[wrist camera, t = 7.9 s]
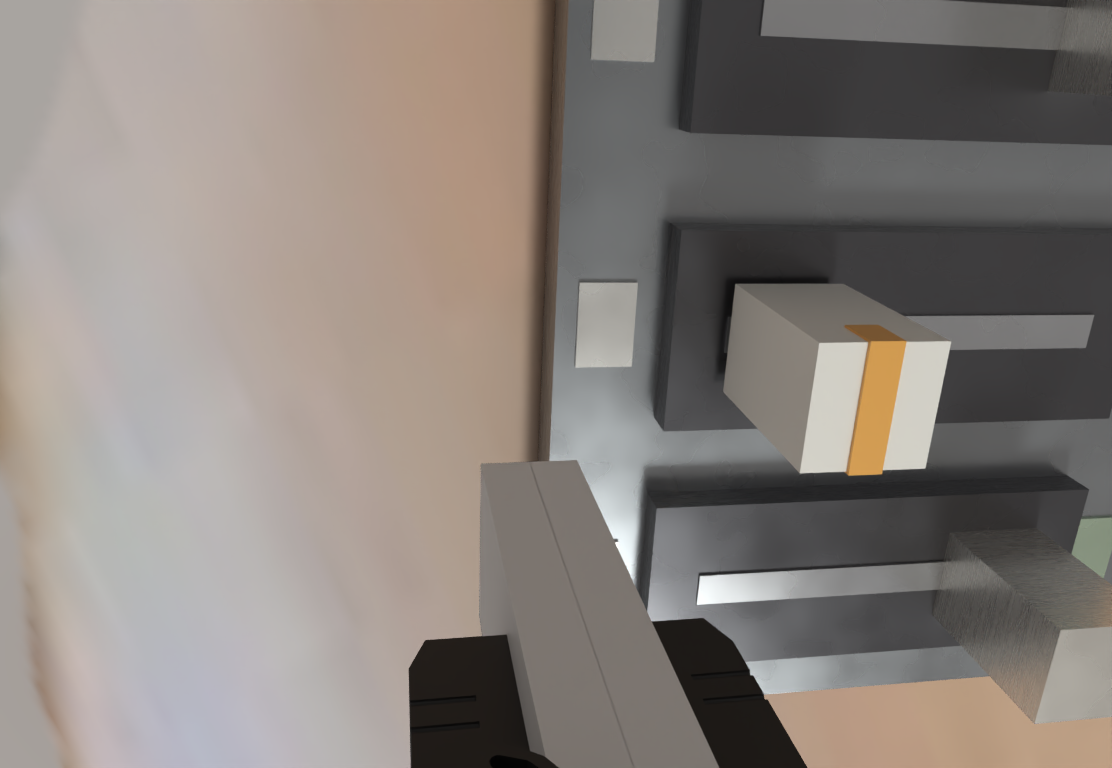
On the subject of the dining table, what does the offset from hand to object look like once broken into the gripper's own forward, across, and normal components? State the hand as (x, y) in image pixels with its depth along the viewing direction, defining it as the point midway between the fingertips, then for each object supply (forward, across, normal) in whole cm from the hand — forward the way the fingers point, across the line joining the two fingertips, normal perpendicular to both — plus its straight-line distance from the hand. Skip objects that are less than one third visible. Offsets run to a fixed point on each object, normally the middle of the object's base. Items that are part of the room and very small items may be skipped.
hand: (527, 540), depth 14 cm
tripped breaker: (+9, +8, 0) cm, 12 cm away
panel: (+13, +12, 0) cm, 18 cm away
